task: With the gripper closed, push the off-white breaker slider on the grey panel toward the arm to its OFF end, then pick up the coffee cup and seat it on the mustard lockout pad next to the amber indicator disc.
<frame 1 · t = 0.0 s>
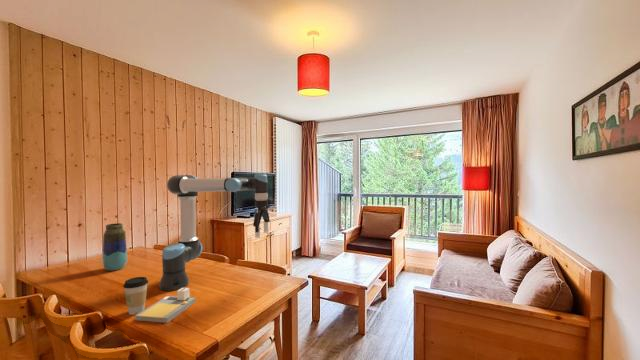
hand: (262, 235, 164), 28 cm above the table, fingers open, 13 cm apart
panel: (167, 310, 130), on the table
coffee cup: (136, 311, 129), on the table
breaker slider: (183, 293, 136), point 5 cm above the table, slide at 0.0 cm
vase: (115, 269, 190), on the table
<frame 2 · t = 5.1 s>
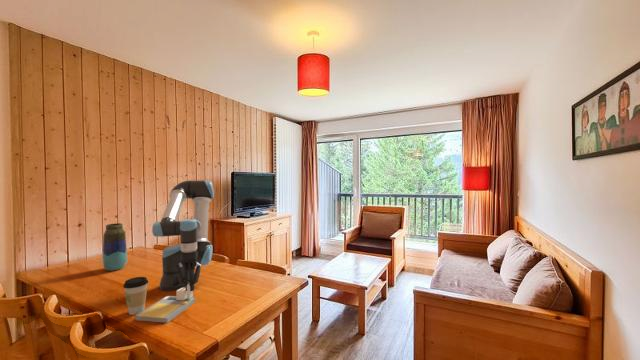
hand: (190, 297, 136), 3 cm above the table, fingers closed
breaker slider: (182, 293, 136), point 5 cm above the table, slide at 0.4 cm, touching gripper
everything else where it was.
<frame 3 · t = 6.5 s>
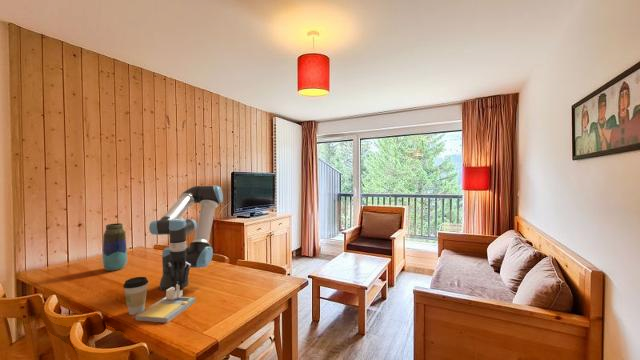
hand: (179, 296, 137), 3 cm above the table, fingers closed
breaker slider: (172, 293, 137), point 5 cm above the table, slide at 6.1 cm, touching gripper
everything else where it was.
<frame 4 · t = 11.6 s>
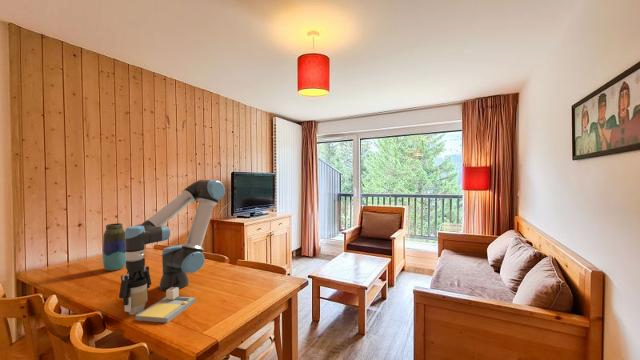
hand: (136, 306, 129), 2 cm above the table, fingers closed on coffee cup, 9 cm apart
coffee cup: (136, 311, 129), on the table, touching gripper
breaker slider: (172, 293, 137), point 5 cm above the table, slide at 6.0 cm
everything else where it was.
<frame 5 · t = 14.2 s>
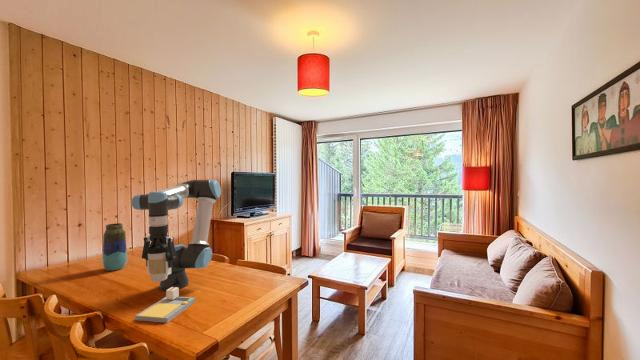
hand: (159, 273, 125), 19 cm above the table, fingers closed on coffee cup, 9 cm apart
coffee cup: (159, 279, 125), point 16 cm above the table, touching gripper
everything else where it was.
when the fingers open (6 cm above the table, at t = 17.0 s): coffee cup moves 3 cm, resting on panel.
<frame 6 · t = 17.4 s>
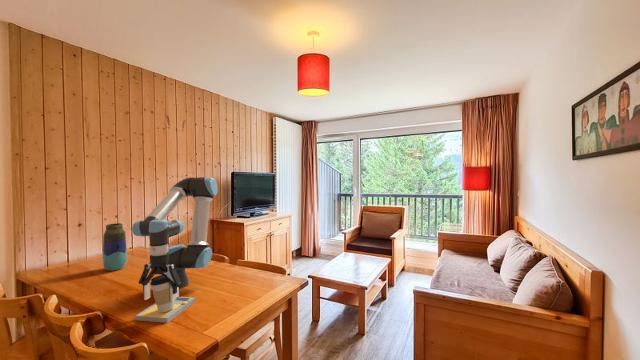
hand: (160, 299, 125), 7 cm above the table, fingers open, 13 cm apart
coffee cup: (166, 309, 125), point 3 cm above the table, touching gripper, panel
everything else where it was.
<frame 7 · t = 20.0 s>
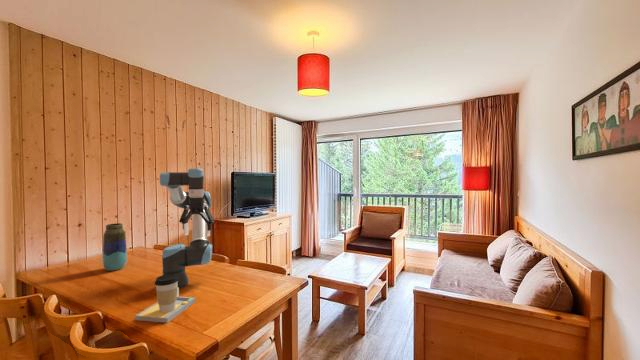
hand: (197, 235, 148), 31 cm above the table, fingers open, 13 cm apart
coffee cup: (167, 309, 125), point 2 cm above the table, touching panel
everything else where it was.
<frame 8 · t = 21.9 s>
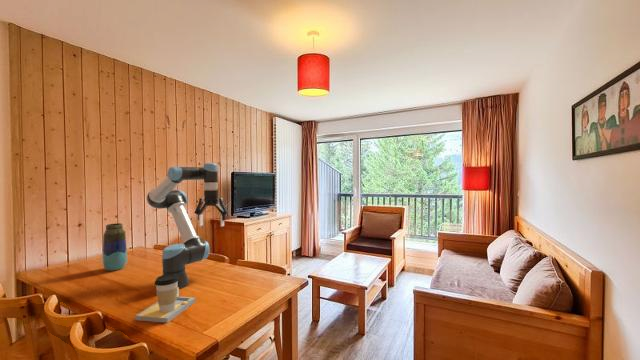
hand: (211, 226, 159), 35 cm above the table, fingers open, 13 cm apart
nothing on the table moved.
at the end: breaker slider slide at 6.0 cm; coffee cup inside the target area (3.2 cm from its centre), point 2.2 cm above the table; coffee cup tilted 0° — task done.
